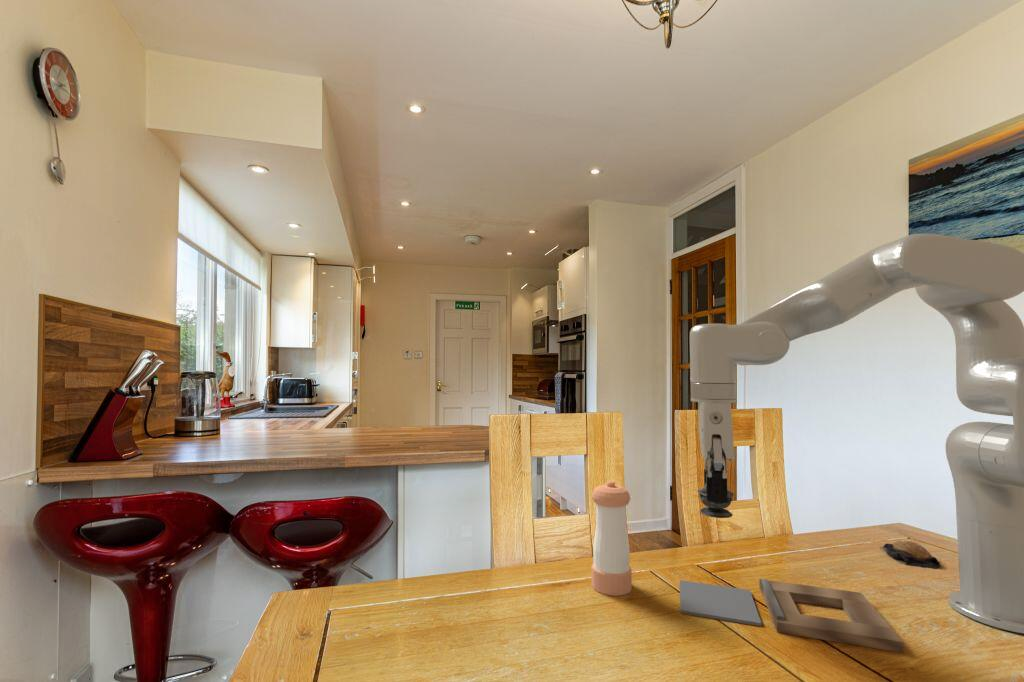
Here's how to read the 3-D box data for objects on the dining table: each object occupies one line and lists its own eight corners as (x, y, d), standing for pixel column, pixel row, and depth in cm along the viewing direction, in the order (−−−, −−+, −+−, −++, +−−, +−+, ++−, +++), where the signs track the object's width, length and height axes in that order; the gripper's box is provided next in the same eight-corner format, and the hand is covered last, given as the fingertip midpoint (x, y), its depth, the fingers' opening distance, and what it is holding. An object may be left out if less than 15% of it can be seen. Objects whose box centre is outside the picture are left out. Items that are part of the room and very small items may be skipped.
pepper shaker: (639, 591, 86) (638, 484, 87) (605, 598, 83) (604, 487, 84) (616, 575, 92) (616, 476, 94) (584, 581, 90) (584, 478, 91)
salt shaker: (727, 509, 86) (725, 441, 86) (739, 519, 80) (737, 447, 80) (693, 508, 86) (692, 441, 87) (703, 517, 80) (702, 446, 81)
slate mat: (749, 592, 86) (749, 589, 86) (761, 626, 74) (761, 623, 74) (679, 582, 90) (679, 580, 90) (680, 613, 78) (680, 610, 78)
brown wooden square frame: (861, 601, 83) (861, 589, 83) (903, 652, 68) (902, 638, 68) (759, 587, 88) (759, 576, 88) (777, 632, 73) (776, 618, 73)
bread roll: (876, 549, 109) (875, 533, 109) (920, 553, 106) (919, 537, 107) (899, 567, 99) (898, 549, 99) (949, 572, 96) (947, 554, 97)
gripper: (743, 396, 75) (746, 512, 74) (730, 391, 91) (733, 487, 90) (692, 395, 77) (694, 508, 76) (689, 391, 94) (690, 484, 92)
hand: (715, 495), depth 83 cm, fingers closed on salt shaker, 5 cm apart
